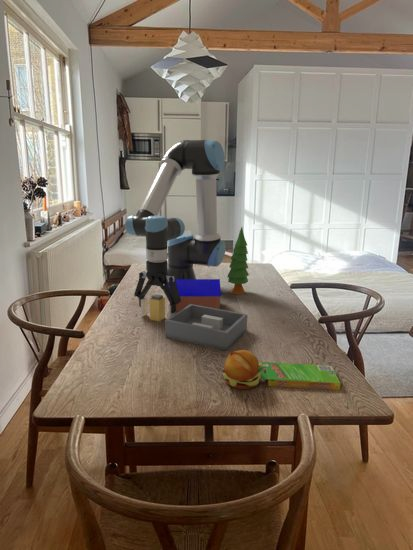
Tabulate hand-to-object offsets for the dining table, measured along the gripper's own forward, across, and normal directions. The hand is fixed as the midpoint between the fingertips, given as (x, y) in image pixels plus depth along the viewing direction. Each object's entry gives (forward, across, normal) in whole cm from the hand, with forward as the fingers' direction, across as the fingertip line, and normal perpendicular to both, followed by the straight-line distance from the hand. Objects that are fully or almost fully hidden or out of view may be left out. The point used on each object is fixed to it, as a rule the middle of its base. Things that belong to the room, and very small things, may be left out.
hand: (157, 318), depth 153 cm
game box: (+1, +57, -19) cm, 60 cm away
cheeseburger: (+1, +44, -28) cm, 52 cm away
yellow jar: (0, 0, 0) cm, 0 cm away
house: (+1, +6, +18) cm, 19 cm away
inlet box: (0, +22, -4) cm, 22 cm away
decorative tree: (0, +14, +44) cm, 46 cm away
